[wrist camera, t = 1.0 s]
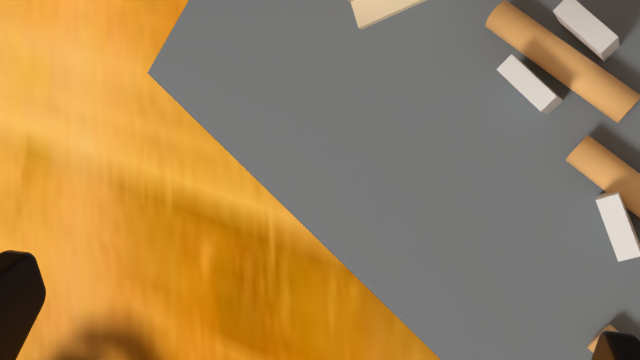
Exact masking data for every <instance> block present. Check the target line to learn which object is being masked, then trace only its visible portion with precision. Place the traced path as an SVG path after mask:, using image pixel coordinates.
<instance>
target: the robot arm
mask: <svg viewBox="0 0 640 360" xmlns="http://www.w3.org/2000/svg"><path fill="white" fill-rule="evenodd" d="M45 296H46V289H45V286H44V282H43V279H42V276H41V273H40V270H39V267H38V264H37V261H36V258H35V257H34V256H33V255H32V254H31V253H28V252H22V251H14V250H8V251H4V252H2V253H0V360H16V358H17V356H18V354H19V352H20V350H21V348H22V346H23V344H24V342H25V340H26V338H27V336H28V334H29V332H30V330H31V328H32V326H33V324H34V322H35V320H36V318H37V316H38V314H39V312H40V310H41V308H42V306H43V304H44V301H45ZM591 360H640V340H639V339H638V338H637V337H636V336H634V335H633V334H630V333H624V332H617V331H609V330H606V331H603V332H602V333H601V334H600V336H599V338H598V341H597V344H596V347H595V350H594V353H593V356H592V359H591Z"/></svg>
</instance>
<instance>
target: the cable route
mask: <svg viewBox="0 0 640 360" xmlns="http://www.w3.org/2000/svg"><path fill="white" fill-rule="evenodd" d="M553 12H554V14H555V16H556V17H557V19H558V21H559V22H560V24H562V25H563V26H564V27H565V28H566V29H567V30H568V31H569V32H571V33H572V34H573V35H574V36H575V37H576V38H577V39H579V40H580V41H581V42H582V43H583V44H584V45H585V46H586V47H588V48H589V49H590V50H591V51H592V52H593V53H594V54H595V55H597V56H598V57H599V58H600V59H601V60H602V61H603V62H604V61H605V60H606V59H607V58H608V57H609V56H610V55H611V54H612V53H613V52H614V51H615V50H617V49H618V48H619V47H620V46H619V38H618V36H617V35H616V34H615V33H613V32H612V31H611V30H610V29H609V28H608V27H606V26H605V25H604V24H603V23H602V22H601V21H599V20H598V19H597V18H596V17H595V16H594V15H593V14H591V13H590V12H589V11H588V10H587V9H586V8H584V7H583V6H582V5H581V4H580V3H579V2H577V1H576V0H563V1H562V2H561V3H560V4H559V5H558V6H557V7H556V8H555V9H554V10H553ZM485 26H486V27H487V28H488V29H489V30H491V31H492V32H493V33H495V34H496V35H497V36H499V37H500V38H502V39H503V40H504V41H506V42H507V43H508V44H510V45H511V46H512V47H514V48H515V49H517V50H518V51H519V52H521V53H522V54H523V55H525V56H526V57H527V58H529V59H530V60H532V61H533V62H534V63H536V64H537V65H538V66H540V67H541V68H542V69H544V70H545V71H547V72H548V73H549V74H551V75H552V76H553V77H555V78H556V79H557V80H559V81H560V82H562V83H563V84H564V85H566V86H567V87H568V88H570V89H571V90H572V91H574V92H575V93H577V94H578V95H579V96H581V97H582V98H583V99H585V100H586V101H587V102H589V103H590V104H592V105H593V106H594V107H596V108H597V109H598V110H600V111H601V112H602V113H604V114H605V115H607V116H608V117H609V118H611V119H612V120H613V121H615V122H616V123H618V122H619V121H620V120H621V119H622V118H623V117H624V116H625V115H626V114H627V113H628V112H629V111H630V110H631V109H632V108H633V106H634V105H635V104H636V103H637V102H638V101H639V100H640V94H638V93H637V92H635V91H634V90H633V89H631V88H630V87H628V86H627V85H625V84H624V83H623V82H621V81H620V80H618V79H617V78H616V77H614V76H613V75H611V74H610V73H608V72H607V71H606V70H604V69H603V68H601V67H600V66H599V65H597V64H596V63H594V62H593V61H591V60H590V59H589V58H587V57H586V56H584V55H583V54H582V53H580V52H579V51H577V50H576V49H574V48H573V47H572V46H570V45H569V44H567V43H566V42H565V41H563V40H562V39H560V38H559V37H558V36H556V35H555V34H553V33H552V32H550V31H549V30H548V29H546V28H545V27H543V26H542V25H541V24H539V23H538V22H536V21H535V20H533V19H532V18H531V17H529V16H528V15H526V14H525V13H524V12H522V11H521V10H519V9H518V8H516V7H515V6H514V5H512V4H511V3H509V2H508V1H507V0H504V1H502V2H501V3H500V4H499V5H498V6H497V7H496V8H495V9H494V10H493V11H492V13H491V14H490V16H489V17H488V19H487V21H486V24H485ZM496 70H497V71H498V72H499V73H500V74H502V75H503V76H504V77H505V78H506V79H507V80H508V81H509V82H510V83H511V84H512V85H513V86H514V87H515V88H516V89H517V90H518V91H519V92H521V93H522V94H523V95H524V96H525V97H526V98H527V99H528V100H529V101H530V102H531V103H532V104H533V105H534V106H535V107H536V108H537V109H538V110H539V111H541V112H544V113H547V114H550V113H551V112H552V111H553V110H554V109H555V108H556V107H557V106H558V105H559V104H560V103H561V102H562V101H563V99H562V98H561V97H559V96H558V95H557V94H556V93H555V92H554V91H553V90H552V89H551V88H550V87H549V86H548V85H547V84H545V83H544V82H543V81H542V80H541V79H540V78H539V77H538V76H537V75H536V74H535V73H534V72H533V71H531V70H530V69H529V68H528V67H527V66H526V65H525V64H524V63H523V62H522V61H520V60H519V59H517V58H516V57H515V56H513V55H512V54H511V55H510V56H509V57H508V58H507V59H506V60H505V61H504V62H503V63H502V64H501V65H500V66H499V67H498V68H497V69H496ZM566 161H567V162H568V163H570V164H571V165H572V166H573V167H575V168H576V169H577V170H578V171H580V172H581V173H582V174H584V175H585V176H586V177H587V178H589V179H590V180H591V181H593V182H594V183H595V184H596V185H598V186H599V187H600V188H602V189H603V190H604V191H605V192H606V193H602V194H599V195H598V197H597V199H596V203H597V206H598V208H599V211H600V214H601V216H602V219H603V222H604V224H605V227H606V230H607V233H608V235H609V238H610V241H611V243H612V246H613V249H614V252H615V254H616V257H617V260H618V262H620V261H624V260H628V259H632V258H636V257H640V243H639V240H638V237H637V235H636V232H635V229H634V227H633V224H632V221H631V218H630V216H629V213H628V210H627V209H629V210H630V211H631V212H632V213H634V214H635V215H636V216H638V217H639V218H640V173H638V172H637V171H636V170H634V169H633V168H632V167H630V166H629V165H628V164H626V163H625V162H624V161H622V160H621V159H620V158H618V157H617V156H616V155H614V154H613V153H612V152H610V151H609V150H608V149H606V148H605V147H604V146H602V145H601V144H600V143H599V142H597V141H596V140H595V139H593V138H592V137H591V136H589V135H587V136H586V137H585V138H584V139H583V140H582V141H581V142H580V143H579V144H578V146H577V147H576V148H575V149H574V150H573V151H572V152H571V153H570V155H569V156H568V157H567V158H566ZM606 330H609V331H617V332H619V331H618V330H616V329H615V328H614V327H613V326H612V325H610V324H608V325H607V326H605V327H604V328H603V329H601V330H600V331H599V332H598V333H597V334H596V335H595V336H594V338H593V339H592V340H591V341H590V343H589V344H588V346H587V348H588V349H589V350H590V351H591V352H593V353H594V350H595V347H596V344H597V341H598V338H599V336H600V334H601V333H602V332H603V331H606Z"/></svg>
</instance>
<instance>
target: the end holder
mask: <svg viewBox="0 0 640 360" xmlns="http://www.w3.org/2000/svg"><path fill="white" fill-rule="evenodd" d="M348 1H350V2H351V5H352V8H353V12H354V15H355V18H356V22H357V25H358V28H359V29H364V28H366V27H368V26H370V25H373V24H375V23H377V22H379V21H382V20H384V19H386V18H388V17H391V16H393V15H395V14H397V13H400V12H402V11H404V10H406V9H408V8H411V7H413V6H415V5H417V4H420V3H422V2H424V1H426V0H348Z"/></svg>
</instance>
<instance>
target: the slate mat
mask: <svg viewBox="0 0 640 360" xmlns="http://www.w3.org/2000/svg"><path fill="white" fill-rule="evenodd" d="M502 1H504V0H426V1H424V2H422V3H420V4H417V5H415V6H413V7H411V8H408V9H406V10H404V11H402V12H400V13H397V14H395V15H393V16H391V17H388V18H386V19H384V20H382V21H379V22H377V23H375V24H373V25H370V26H368V27H366V28H364V29H359V28H358V25H357V22H356V18H355V15H354V12H353V8H352V5H351V2H350V1H348V0H189V1H188V3H187V5H186V6H185V8H184V10H183V12H182V13H181V15H180V17H179V19H178V20H177V22H176V24H175V26H174V27H173V29H172V31H171V33H170V34H169V36H168V38H167V40H166V41H165V43H164V45H163V47H162V48H161V50H160V52H159V54H158V56H157V57H156V59H155V61H154V63H153V64H152V66H151V68H150V70H149V71H148V74H149V75H150V76H151V77H152V78H153V79H154V80H155V81H156V82H157V83H158V84H159V85H160V86H161V87H162V88H164V89H165V90H166V91H167V92H168V93H169V94H170V95H171V96H172V97H173V98H174V99H175V100H176V101H177V102H178V103H179V104H180V105H181V106H182V107H183V108H184V109H185V110H186V111H187V112H188V113H189V114H190V115H191V116H192V117H193V118H194V119H195V120H196V121H197V122H198V123H199V124H200V125H201V126H202V127H203V128H204V129H205V130H207V131H208V132H209V133H210V134H211V135H212V136H213V137H214V138H215V139H216V140H217V141H218V142H219V143H220V144H221V145H222V146H223V147H224V148H225V149H226V150H227V151H228V152H229V153H230V154H231V155H232V156H233V157H234V158H235V159H236V160H237V161H238V162H239V163H240V164H241V165H242V166H243V167H244V168H245V169H246V170H247V171H248V172H250V173H251V174H252V175H253V176H254V177H255V178H256V179H257V180H258V181H259V182H260V183H261V184H262V185H263V186H264V187H265V188H266V189H267V190H268V191H269V192H270V193H271V194H272V195H273V196H274V197H275V198H276V199H277V200H278V201H279V202H280V203H281V204H282V205H283V206H284V207H285V208H286V209H287V210H288V211H289V212H290V213H291V214H293V215H294V216H295V217H296V218H297V219H298V220H299V221H300V222H301V223H302V224H303V225H304V226H305V227H306V228H307V229H308V230H309V231H310V232H311V233H312V234H313V235H314V236H315V237H316V238H317V239H318V240H319V241H320V242H321V243H322V244H323V245H324V246H325V247H326V248H327V249H328V250H329V251H330V252H331V253H332V254H333V255H334V256H336V257H337V258H338V259H339V260H340V261H341V262H342V263H343V264H344V265H345V266H346V267H347V268H348V269H349V270H350V271H351V272H352V273H353V274H354V275H355V276H356V277H357V278H358V279H359V280H360V281H361V282H362V283H363V284H364V285H365V286H366V287H367V288H368V289H369V290H370V291H371V292H372V293H373V294H374V295H375V296H376V297H377V298H379V299H380V300H381V301H382V302H383V303H384V304H385V305H386V306H387V307H388V308H389V309H390V310H391V311H392V312H393V313H394V314H395V315H396V316H397V317H398V318H399V319H400V320H401V321H402V322H403V323H404V324H405V325H406V326H407V327H408V328H409V329H410V330H411V331H412V332H413V333H414V334H415V335H416V336H417V337H418V338H419V339H420V340H422V341H423V342H424V343H425V344H426V345H427V346H428V347H429V348H430V349H431V350H432V351H433V352H434V353H435V354H436V355H437V356H438V357H439V358H440V359H441V360H591V359H592V356H593V352H591V351H590V350H589V349H588V348H587V346H588V344H589V343H590V341H591V340H592V339H593V338H594V336H595V335H596V334H597V333H598V332H599V331H600V330H601V329H603V328H604V327H605V326H607V325H608V324H610V325H612V326H613V327H614V328H615V329H616V330H618V331H619V332H624V333H630V334H633V335H634V336H636V337H637V338H638V339H639V340H640V257H636V258H632V259H628V260H624V261H620V262H618V260H617V257H616V254H615V252H614V249H613V246H612V243H611V241H610V238H609V235H608V233H607V230H606V227H605V224H604V222H603V219H602V216H601V214H600V211H599V208H598V206H597V203H596V199H597V197H598V195H599V194H602V193H606V192H605V191H604V190H603V189H602V188H600V187H599V186H598V185H596V184H595V183H594V182H593V181H591V180H590V179H589V178H587V177H586V176H585V175H584V174H582V173H581V172H580V171H578V170H577V169H576V168H575V167H573V166H572V165H571V164H570V163H568V162H567V161H566V158H567V157H568V156H569V155H570V153H571V152H572V151H573V150H574V149H575V148H576V147H577V146H578V144H579V143H580V142H581V141H582V140H583V139H584V138H585V137H586V136H587V135H589V136H591V137H592V138H593V139H595V140H596V141H597V142H599V143H600V144H601V145H602V146H604V147H605V148H606V149H608V150H609V151H610V152H612V153H613V154H614V155H616V156H617V157H618V158H620V159H621V160H622V161H624V162H625V163H626V164H628V165H629V166H630V167H632V168H633V169H634V170H636V171H637V172H638V173H640V100H639V101H638V102H637V103H636V104H635V105H634V106H633V108H632V109H631V110H630V111H629V112H628V113H627V114H626V115H625V116H624V117H623V118H622V119H621V120H620V121H619V122H618V123H616V122H615V121H613V120H612V119H611V118H609V117H608V116H607V115H605V114H604V113H602V112H601V111H600V110H598V109H597V108H596V107H594V106H593V105H592V104H590V103H589V102H587V101H586V100H585V99H583V98H582V97H581V96H579V95H578V94H577V93H575V92H574V91H572V90H571V89H570V88H568V87H567V86H566V85H564V84H563V83H562V82H560V81H559V80H557V79H556V78H555V77H553V76H552V75H551V74H549V73H548V72H547V71H545V70H544V69H542V68H541V67H540V66H538V65H537V64H536V63H534V62H533V61H532V60H530V59H529V58H527V57H526V56H525V55H523V54H522V53H521V52H519V51H518V50H517V49H515V48H514V47H512V46H511V45H510V44H508V43H507V42H506V41H504V40H503V39H502V38H500V37H499V36H497V35H496V34H495V33H493V32H492V31H491V30H489V29H488V28H487V27H486V26H485V24H486V21H487V19H488V17H489V16H490V14H491V13H492V11H493V10H494V9H495V8H496V7H497V6H498V5H499V4H500V3H501V2H502ZM507 1H508V2H509V3H511V4H512V5H514V6H515V7H516V8H518V9H519V10H521V11H522V12H524V13H525V14H526V15H528V16H529V17H531V18H532V19H533V20H535V21H536V22H538V23H539V24H541V25H542V26H543V27H545V28H546V29H548V30H549V31H550V32H552V33H553V34H555V35H556V36H558V37H559V38H560V39H562V40H563V41H565V42H566V43H567V44H569V45H570V46H572V47H573V48H574V49H576V50H577V51H579V52H580V53H582V54H583V55H584V56H586V57H587V58H589V59H590V60H591V61H593V62H594V63H596V64H597V65H599V66H600V67H601V68H603V69H604V70H606V71H607V72H608V73H610V74H611V75H613V76H614V77H616V78H617V79H618V80H620V81H621V82H623V83H624V84H625V85H627V86H628V87H630V88H631V89H633V90H634V91H635V92H637V93H638V94H640V0H576V1H577V2H579V3H580V4H581V5H582V6H583V7H584V8H586V9H587V10H588V11H589V12H590V13H591V14H593V15H594V16H595V17H596V18H597V19H598V20H599V21H601V22H602V23H603V24H604V25H605V26H606V27H608V28H609V29H610V30H611V31H612V32H613V33H615V34H616V35H617V36H618V38H619V46H620V47H619V48H618V49H617V50H615V51H614V52H613V53H612V54H611V55H610V56H609V57H608V58H607V59H606V60H605V61H604V62H603V61H602V60H601V59H600V58H599V57H598V56H597V55H595V54H594V53H593V52H592V51H591V50H590V49H589V48H588V47H586V46H585V45H584V44H583V43H582V42H581V41H580V40H579V39H577V38H576V37H575V36H574V35H573V34H572V33H571V32H569V31H568V30H567V29H566V28H565V27H564V26H563V25H562V24H560V22H559V21H558V19H557V17H556V16H555V14H554V12H553V10H554V9H555V8H556V7H557V6H558V5H559V4H560V3H561V2H562V1H563V0H507ZM511 54H512V55H513V56H515V57H516V58H517V59H519V60H520V61H522V62H523V63H524V64H525V65H526V66H527V67H528V68H529V69H530V70H531V71H533V72H534V73H535V74H536V75H537V76H538V77H539V78H540V79H541V80H542V81H543V82H544V83H545V84H547V85H548V86H549V87H550V88H551V89H552V90H553V91H554V92H555V93H556V94H557V95H558V96H559V97H561V98H562V99H563V101H562V102H561V103H560V104H559V105H558V106H557V107H556V108H555V109H554V110H553V111H552V112H551V113H550V114H547V113H544V112H541V111H539V110H538V109H537V108H536V107H535V106H534V105H533V104H532V103H531V102H530V101H529V100H528V99H527V98H526V97H525V96H524V95H523V94H522V93H521V92H519V91H518V90H517V89H516V88H515V87H514V86H513V85H512V84H511V83H510V82H509V81H508V80H507V79H506V78H505V77H504V76H503V75H502V74H500V73H499V72H498V71H497V70H496V69H497V68H498V67H499V66H500V65H501V64H502V63H503V62H504V61H505V60H506V59H507V58H508V57H509V56H510V55H511ZM627 210H628V213H629V216H630V218H631V221H632V224H633V227H634V229H635V232H636V235H637V237H638V240H639V243H640V218H639V217H638V216H636V215H635V214H634V213H632V212H631V211H630V210H629V209H627Z"/></svg>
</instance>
